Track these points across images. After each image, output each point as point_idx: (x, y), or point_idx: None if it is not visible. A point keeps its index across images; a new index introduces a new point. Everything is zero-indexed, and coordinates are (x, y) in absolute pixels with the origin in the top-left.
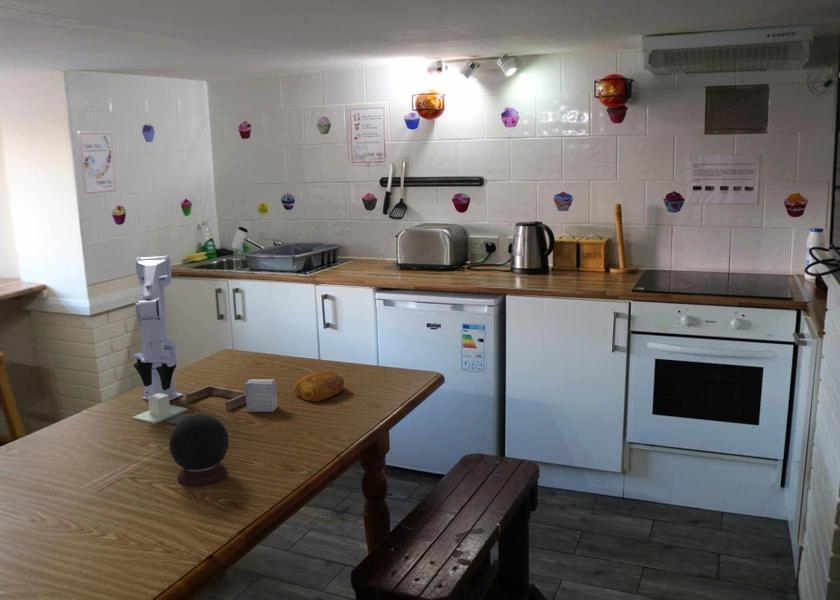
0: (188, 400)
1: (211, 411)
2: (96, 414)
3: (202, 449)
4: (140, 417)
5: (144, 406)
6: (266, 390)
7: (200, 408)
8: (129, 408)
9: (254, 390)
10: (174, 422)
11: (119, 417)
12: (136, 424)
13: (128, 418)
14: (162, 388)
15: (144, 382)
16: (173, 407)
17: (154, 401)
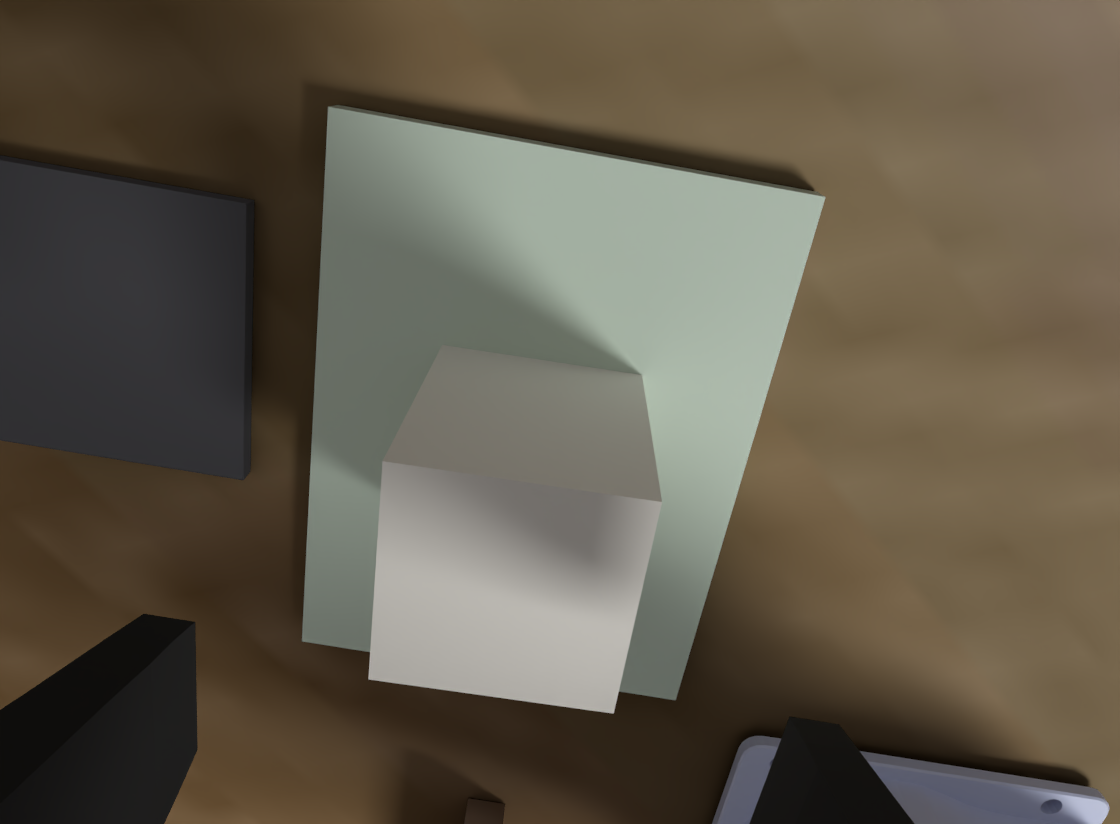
0: (470, 821)
1: (18, 654)
2: None
3: None
4: (681, 214)
5: (934, 616)
6: None
7: (212, 698)
8: (1108, 522)
9: None
10: (57, 202)
11: (1074, 198)
12: (607, 8)
13: (901, 200)
14: (177, 640)
15: (833, 791)
16: None
17: (489, 448)
